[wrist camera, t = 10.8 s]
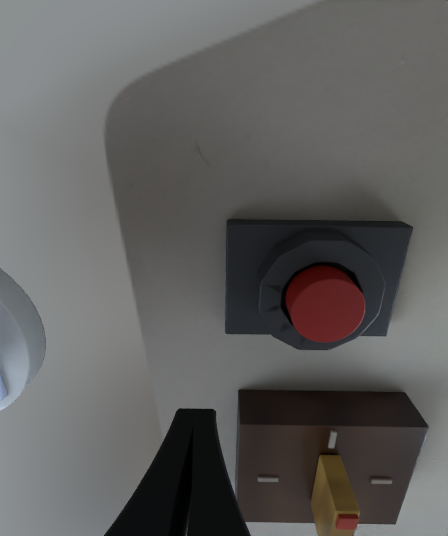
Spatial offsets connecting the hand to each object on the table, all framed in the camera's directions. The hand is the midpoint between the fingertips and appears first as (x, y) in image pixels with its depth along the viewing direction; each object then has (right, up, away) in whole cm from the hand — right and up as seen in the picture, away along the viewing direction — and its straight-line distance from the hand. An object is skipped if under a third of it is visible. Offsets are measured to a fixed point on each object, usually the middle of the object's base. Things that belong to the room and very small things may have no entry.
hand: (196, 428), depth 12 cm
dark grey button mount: (+6, +5, +8) cm, 11 cm away
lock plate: (+8, -8, +13) cm, 17 cm away
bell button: (+6, +4, +6) cm, 9 cm away
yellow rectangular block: (+8, -9, +10) cm, 16 cm away
